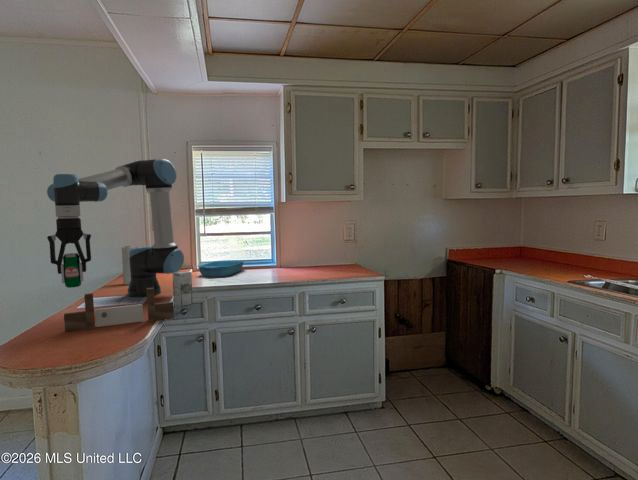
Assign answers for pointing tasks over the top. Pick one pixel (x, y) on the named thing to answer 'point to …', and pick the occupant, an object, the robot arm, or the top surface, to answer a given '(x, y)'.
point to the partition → (87, 318)
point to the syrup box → (182, 288)
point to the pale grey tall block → (126, 264)
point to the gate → (119, 315)
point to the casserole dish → (220, 268)
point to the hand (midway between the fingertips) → (73, 281)
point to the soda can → (71, 270)
